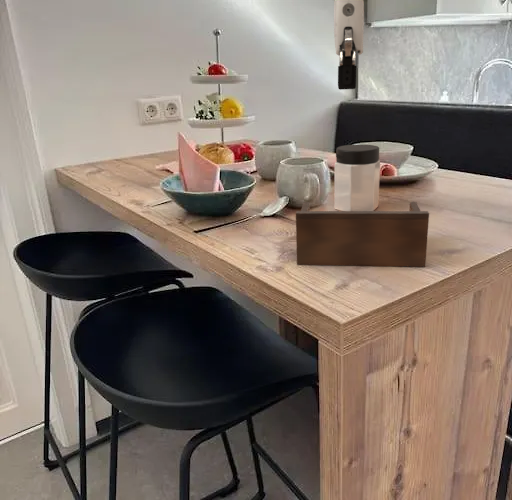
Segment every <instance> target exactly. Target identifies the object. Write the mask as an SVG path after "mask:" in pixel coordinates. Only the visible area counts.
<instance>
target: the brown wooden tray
mask: <svg viewBox="0 0 512 500" xmlns="http://www.w3.org/2000/svg"><path fill="white" fill-rule="evenodd" d="M310 205H311V204H310V201H303V203H302V205H301V209H300V210H296V211H295V236H296V237H295V238H296V243H295V245H296V265H300V266H301V265H304V266H305V265H307V266H354V267H355V266H357V267H358V266H359V267H403V266H407V268H413V267H414V268H425V267H426V263H427V261H426V260H427V248H428V237H429V236H428V234H429V223H430V222H429V220H430V212H429V211H428V210H421V208H420V206H419V204H418V203H417V201H410V202H409V210H374V211H340V210H311V206H310ZM409 266H411V267H409ZM416 266H417V267H416ZM422 266H424V267H422Z"/></svg>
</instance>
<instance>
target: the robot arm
mask: <svg viewBox="0 0 512 500" xmlns="http://www.w3.org/2000/svg"><path fill="white" fill-rule="evenodd" d="M364 4H365V3H364V0H333V31H334V32H333V34H334V37H333V38H334V47H335V54H336V55H337V56H339V60H338V61H339V63H338V64H339V65H338V66H337V88H338V90H340V91H341V90H355V89H356V88H357V65H356V52H357V55H358V56H360V55H362V54H363V53H364V29H365V25H364V23H365V5H364Z"/></svg>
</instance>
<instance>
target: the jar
mask: <svg viewBox="0 0 512 500" xmlns="http://www.w3.org/2000/svg"><path fill="white" fill-rule="evenodd" d="M335 150H336V153H335V161H334V180H333V181H334V185H333V186H334V189H333V191H334V196H333V197H334V198H333V199H334V201H333V202H334V203H333V204H334V205H333V208H334V210H335V211H376V209H377V208H378V207H379V204H380V203H379V201H380V178H381V176H380V175H381V159H380V147H379V146H377V145H374V144H347V145H339V146H338V147H336V149H335Z"/></svg>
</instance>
